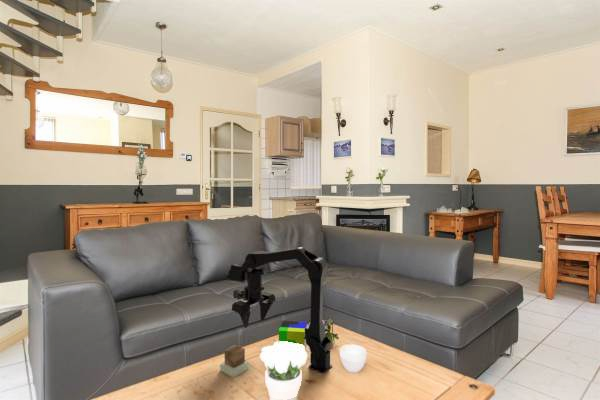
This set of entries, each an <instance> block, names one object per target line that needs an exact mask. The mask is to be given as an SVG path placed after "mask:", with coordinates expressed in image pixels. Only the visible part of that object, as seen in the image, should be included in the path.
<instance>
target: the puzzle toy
mask: <svg viewBox="0 0 600 400" xmlns="http://www.w3.org/2000/svg"><path fill="white" fill-rule="evenodd" d="M307 325H308V323H307V321H294V320H282V321H281V324H280V326H279V329H278V342H279V341H288V342H293V343H299V344H303V345H304V346H305V348H306V347H307V344H306V339H304V338H305V327H306V326H307Z"/></svg>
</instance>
